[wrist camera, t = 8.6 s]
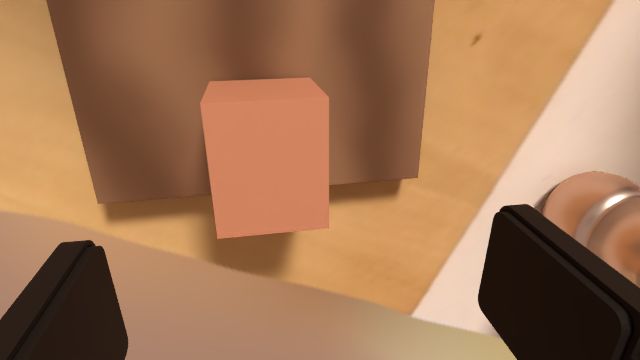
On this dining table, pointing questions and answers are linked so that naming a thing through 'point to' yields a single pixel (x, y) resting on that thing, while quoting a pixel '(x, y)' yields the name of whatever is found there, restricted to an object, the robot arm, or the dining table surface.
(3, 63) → the dining table surface
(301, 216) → the salmon upright block
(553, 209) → the plastic bottle
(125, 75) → the wooden base board
